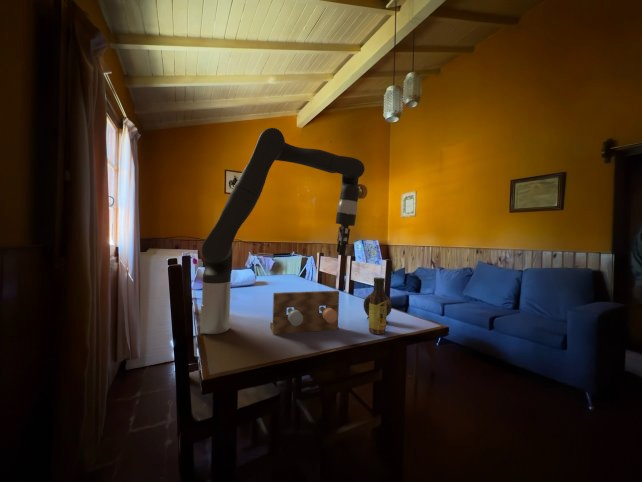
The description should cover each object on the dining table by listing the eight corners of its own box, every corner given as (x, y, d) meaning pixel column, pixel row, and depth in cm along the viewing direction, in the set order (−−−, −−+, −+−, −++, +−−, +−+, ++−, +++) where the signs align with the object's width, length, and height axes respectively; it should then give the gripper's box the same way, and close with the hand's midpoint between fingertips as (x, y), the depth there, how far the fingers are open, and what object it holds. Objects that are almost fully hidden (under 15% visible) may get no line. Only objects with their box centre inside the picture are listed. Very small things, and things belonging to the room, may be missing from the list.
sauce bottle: (382, 336, 94) (384, 279, 94) (365, 332, 97) (367, 278, 97) (388, 331, 100) (390, 277, 99) (372, 327, 103) (374, 276, 103)
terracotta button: (316, 315, 99) (316, 303, 99) (327, 314, 100) (327, 302, 100) (325, 323, 89) (325, 310, 89) (337, 322, 91) (337, 309, 91)
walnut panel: (273, 334, 93) (274, 293, 92) (270, 326, 100) (271, 289, 100) (337, 329, 100) (339, 291, 100) (330, 322, 108) (331, 287, 107)
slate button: (283, 317, 95) (284, 304, 95) (295, 316, 96) (296, 304, 96) (289, 326, 86) (289, 312, 86) (302, 325, 87) (303, 311, 87)
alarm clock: (391, 322, 110) (392, 283, 110) (387, 326, 106) (388, 284, 105) (366, 317, 116) (367, 280, 116) (361, 320, 111) (362, 281, 111)
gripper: (335, 211, 111) (329, 250, 112) (339, 210, 97) (332, 255, 98) (353, 214, 111) (347, 252, 113) (359, 213, 97) (352, 257, 98)
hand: (340, 253), depth 105 cm, fingers open, 8 cm apart
